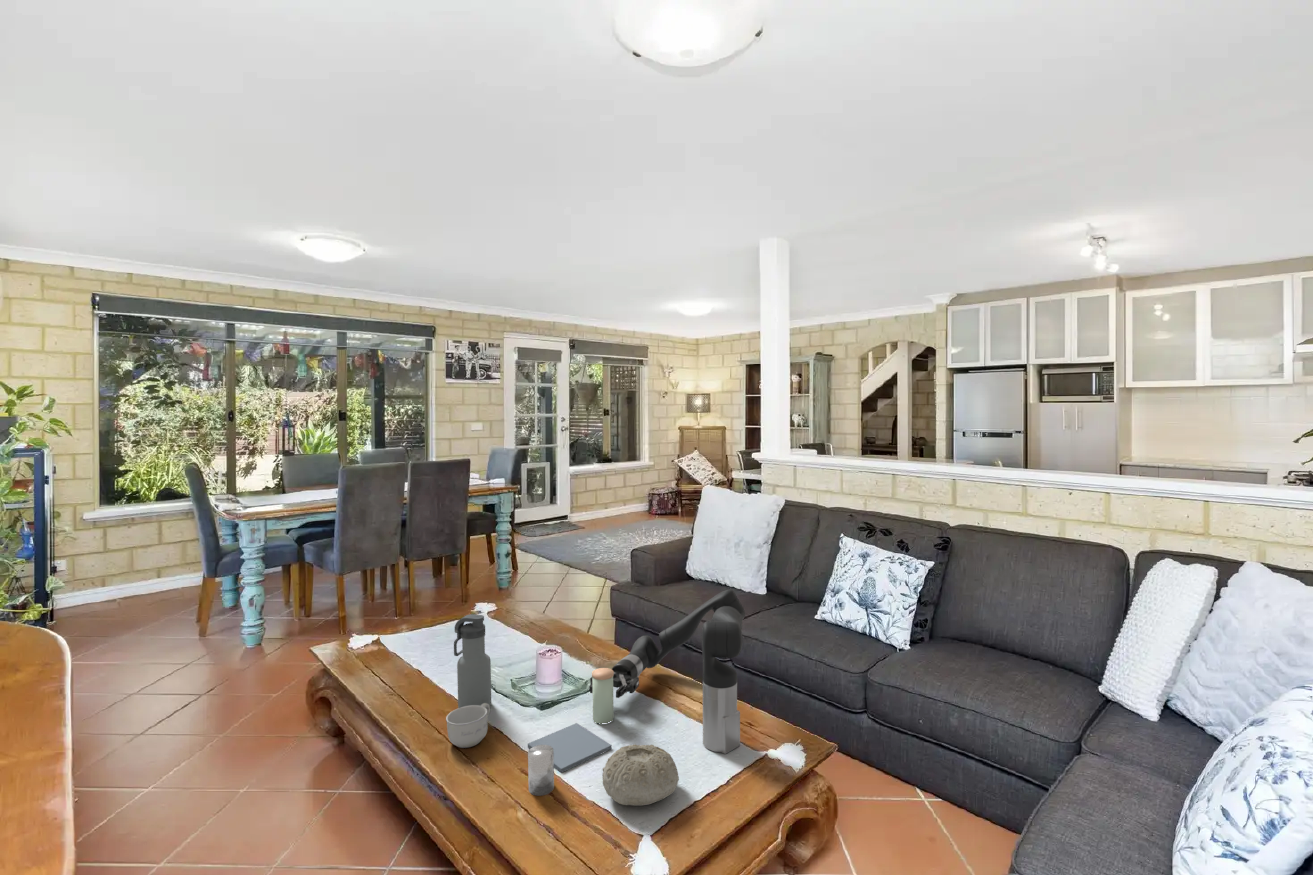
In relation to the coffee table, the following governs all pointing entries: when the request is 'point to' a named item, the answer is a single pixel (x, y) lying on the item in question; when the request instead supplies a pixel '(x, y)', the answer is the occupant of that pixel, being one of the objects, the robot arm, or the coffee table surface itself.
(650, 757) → the decorative shell
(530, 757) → the steel tin
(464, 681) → the water bottle
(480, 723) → the teacup
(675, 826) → the coffee table surface
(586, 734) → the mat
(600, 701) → the sage tin
